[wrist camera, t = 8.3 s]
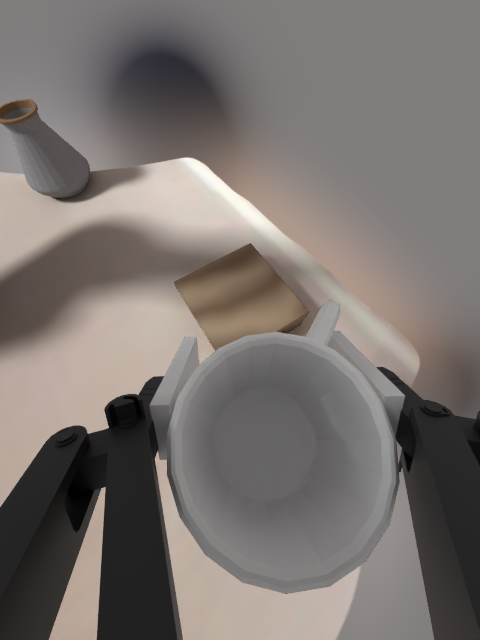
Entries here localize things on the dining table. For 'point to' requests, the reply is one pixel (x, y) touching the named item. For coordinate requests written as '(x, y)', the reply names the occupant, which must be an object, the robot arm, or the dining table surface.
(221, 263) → the dock
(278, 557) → the mug
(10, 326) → the dining table surface
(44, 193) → the coffee pot
